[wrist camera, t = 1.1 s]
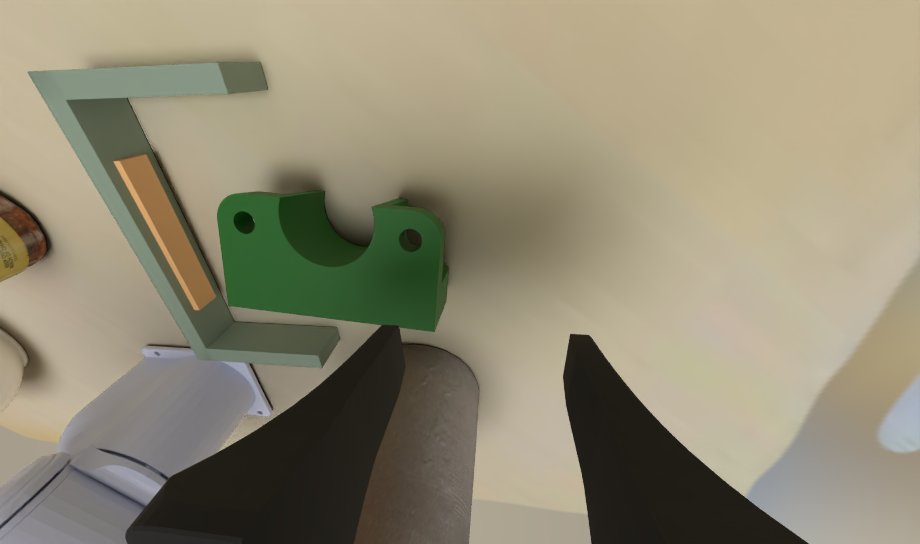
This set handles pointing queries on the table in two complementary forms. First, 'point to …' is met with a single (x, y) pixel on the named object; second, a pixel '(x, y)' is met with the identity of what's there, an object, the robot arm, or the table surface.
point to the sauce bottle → (18, 240)
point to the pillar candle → (425, 456)
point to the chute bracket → (168, 202)
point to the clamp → (332, 261)
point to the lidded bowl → (10, 368)
